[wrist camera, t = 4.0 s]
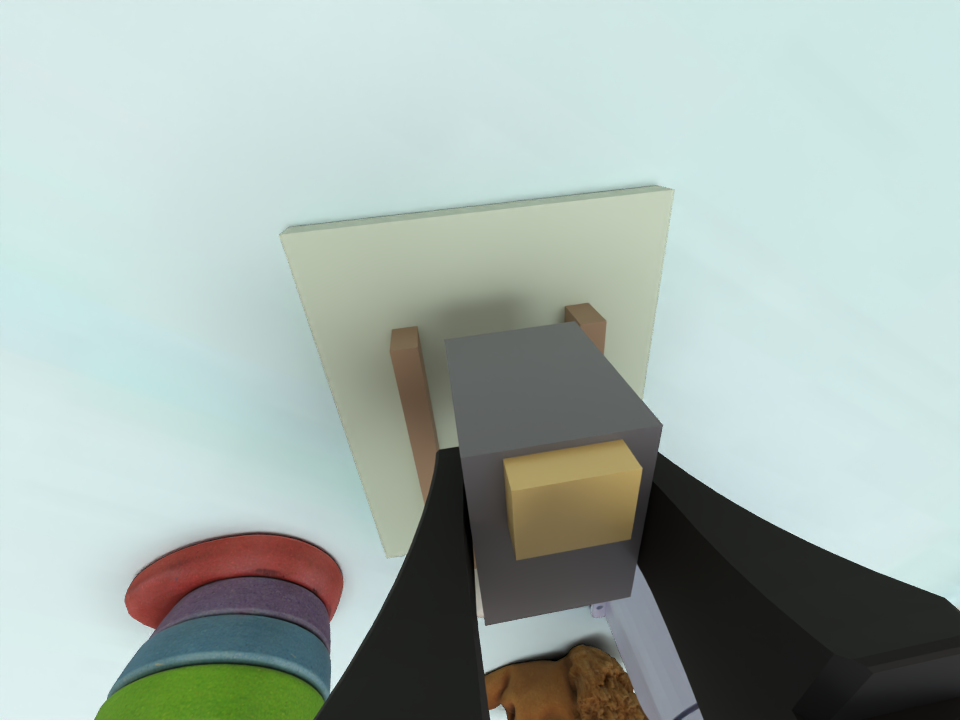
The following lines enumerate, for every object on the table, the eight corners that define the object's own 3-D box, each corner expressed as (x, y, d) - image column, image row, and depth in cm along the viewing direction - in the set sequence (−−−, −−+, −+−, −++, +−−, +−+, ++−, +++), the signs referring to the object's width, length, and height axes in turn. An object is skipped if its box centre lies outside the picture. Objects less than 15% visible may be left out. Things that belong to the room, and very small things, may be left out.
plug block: (569, 465, 15) (645, 628, 10) (464, 482, 15) (490, 660, 10) (575, 321, 12) (686, 453, 7) (444, 339, 12) (465, 491, 7)
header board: (615, 499, 25) (666, 593, 20) (388, 539, 24) (380, 649, 19) (657, 185, 16) (770, 212, 11) (288, 227, 14) (222, 279, 9)
